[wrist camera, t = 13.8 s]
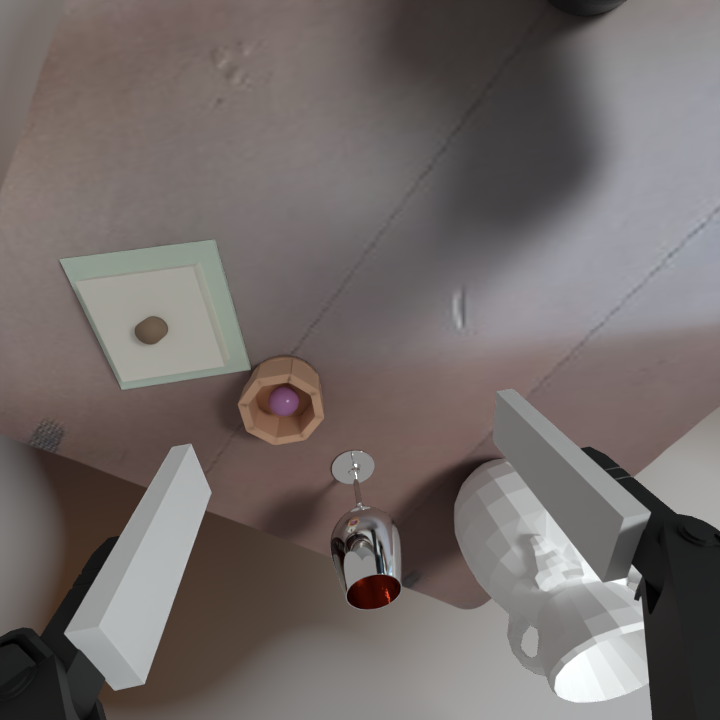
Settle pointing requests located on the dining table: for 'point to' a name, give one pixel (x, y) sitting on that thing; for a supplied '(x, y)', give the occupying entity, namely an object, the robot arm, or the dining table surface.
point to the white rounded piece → (550, 589)
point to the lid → (156, 321)
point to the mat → (161, 258)
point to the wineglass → (365, 542)
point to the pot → (282, 400)
